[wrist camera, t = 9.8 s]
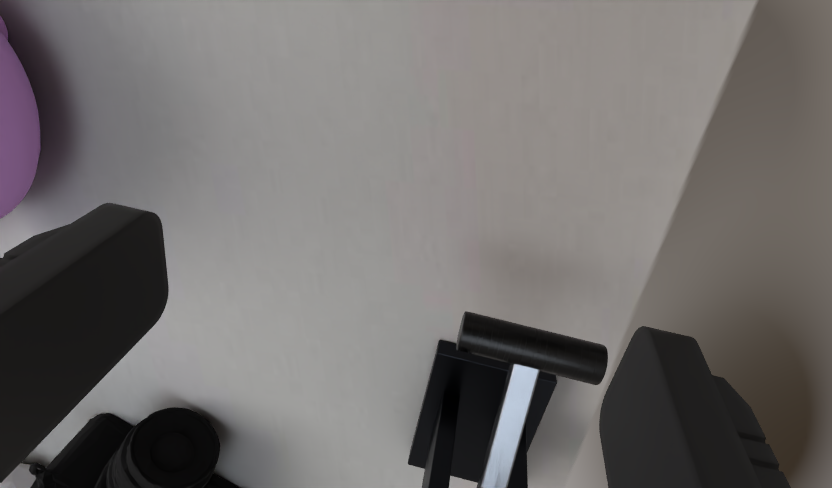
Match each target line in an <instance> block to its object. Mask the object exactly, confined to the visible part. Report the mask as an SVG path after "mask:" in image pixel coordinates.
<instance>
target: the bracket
mask: <svg viewBox="0 0 832 488" xmlns="http://www.w3.org/2000/svg"><path fill="white" fill-rule="evenodd" d="M509 366H510V363H506V362H502V361H498V360H494V359H490V358H486V357H482V356H478V355H474V354H470V353H466V352H462V351H458V350H456V344H454V343H450V342H446V341H442V340H439V343H438V346H437V350H436V354H435V358H434V362H433V366H432V369H431V373H430V377H429V381H428V385H427V389H426V392H425V396H424V400H423V404H422V408H421V412H420V415H419V419H418V423H417V427H416V431H415V435H414V438H413V442H412V446H411V450H410V455H409V459H408V464H409V465H413V466H416V467H420V468H424V469H425V472H424V478H423V483H422V488H449V481H450V475H451V476H454V477H458V478H462V479H466V480H470V481H473V482H477V483H478V481H479V478H480V474H481V470H482V466H483V463H484V459H485V455H486V452H487V448H488V444H489V440H490V437H491V433H492V429H493V426H494V422H495V418H496V414H497V411H498V407H499V403H500V400H501V396H502V392H503V388H504V385H505V381H506V377H507V374H508V370H509ZM556 384H557V378H556V375H554V374H550V373H546V372H542V371H540V372H539V375H538V379H537V382H536V386H535V390H534V393H533V397H532V400H531V404H530V407H529V411H528V415H527V418H526V422H525V425H524V429H523V432H522V436H521V440H520V443H519V447H518V450H517V454H516V458H515V461H514V465H513V468H512V472H511V475H510V479H509V483H508V486H507V488H528V484H527V451H528V449H529V447H530V444H531V442H532V440H533V437H534V435H535V433H536V430H537V428H538V426H539V423H540V421H541V419H542V416H543V414H544V412H545V409H546V407H547V405H548V402H549V400H550V398H551V395H552V393H553V391H554V388H555V386H556Z"/></svg>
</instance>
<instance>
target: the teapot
mask: <svg viewBox="0 0 832 488" xmlns="http://www.w3.org/2000/svg"><path fill="white" fill-rule="evenodd" d="M40 151H41V144H40V124H39V114H38V109H37V105H36V100H35V96H34V93H33V90H32V87H31V84H30V82H29V79H28V77H27V75H26V73H25V70H24V68H23V66H22V64H21V62H20V60H19V59H18V57H17V55H16V53H15V52H14V50H13V48H12V47H11V45H10V44H9V42H8V31H7V28H6V25H5V23H4V21H3V19H2V18H1V16H0V218H2V217H4V216H5V215H7V214H8V213H10V212H11V211H12V210H13V209H14V208H15V207H16V206H17V205H18V204H19V203H20V202H21V201H22V199H23V198H24V197H25V195H26V194H27V192H28V190H29V189H30V187H31V185H32V182H33V180H34V177H35V174H36V170H37V164H38V159H39V154H40Z"/></svg>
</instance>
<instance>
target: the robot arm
mask: <svg viewBox="0 0 832 488" xmlns="http://www.w3.org/2000/svg"><path fill="white" fill-rule="evenodd" d="M167 299H168V278H167V268H166V258H165V248H164V238H163V229H162V223H161V220H160V218H159V217H158V216H157V215H156V214H155V213H152V212H148V211H144V210H140V209H135V208H131V207H127V206H122V205H118V204H113V203H106V204H103V205H101V206H99V207H97V208H96V209H94V210H92V211H91V212H89V213H88V214H86V215H84V216H83V217H81V218H79V219H78V220H76V221H75V222H73V223H71V224H69V225H66V226H63V227H60V228H57V229H54V230H51V231H48V232H44V233H41V234H38V235H35V236H33V237H31V238H29V239H28V240H26V241H24V242H23V243H21V244H19V245H18V246H16V247H14V248H13V249H11V250H9V251H8V252H6V253H4V257H3V258H0V483H2V482H3V481H4V480H5V478H6V477H7V476H8V475H9V474H10V473H11V472H12V471H13V470H14V469H15V468H16V467H17V466H18V465H19V464H20V463H21V462H22V461H23V460H24V459H25V458H26V457H27V456H28V455H29V454H30V453H31V452H32V451H33V450H34V449H35V448H36V447H37V445H38V444H39V443H40V442H41V441H42V440H43V439H44V438H45V437H46V436H47V435H48V434H49V433H50V432H51V431H52V430H53V429H54V428H55V427H56V426H57V425H58V424H59V423H60V422H61V421H62V420H63V419H64V418H65V417H66V416H67V415H68V414H69V412H70V411H71V410H72V409H73V408H74V407H75V406H76V405H77V404H78V403H79V402H80V401H81V400H82V399H83V398H84V397H85V396H86V395H87V394H88V393H89V392H90V391H91V390H92V389H93V388H94V387H95V386H96V385H97V384H98V383H99V382H100V380H101V379H102V378H103V377H104V376H105V375H106V374H107V373H108V372H109V371H110V370H111V369H112V368H113V367H114V366H115V365H116V364H117V363H118V362H119V361H120V360H121V359H122V358H123V357H124V356H125V355H126V354H127V353H128V352H129V351H130V350H131V349H132V347H133V346H134V345H135V344H136V343H137V342H138V341H139V340H140V339H141V338H142V337H143V336H144V335H145V334H146V333H147V332H148V331H149V330H150V329H151V328H152V327H153V326H154V325H155V324H156V322H157V321H158V320H159V318H160V317H161V315H162V313H163V311H164V309H165V306H166V303H167ZM599 426H600V438H601V443H602V450H603V456H604V462H605V468H606V475H607V481H608V487H609V488H790V485H789V483H788V481H787V479H786V477H785V476H784V474H783V472H780V471H779V470H778V467H779V463H778V461H777V459H776V457H775V455H774V453H773V452H772V449H771V447H770V445H769V444H765V439H766V438H765V435H764V433H763V432H762V429H761V427H760V425H759V423H758V421H757V419H756V417H755V415H754V413H753V411H752V409H751V407H750V406H749V405H748V404H747V403H746V402H745V401H744V400H743V399H742V397H741V396H740V395H739V394H738V393H737V392H736V391H735V390H734V389H733V388H732V387H731V385H730V384H729V383H728V382H727V381H726V380H725V379H724V378H721V377H717V376H713V375H712V374H711V372H710V370H709V367H708V365H707V363H706V361H705V359H704V356H703V354H702V352H701V349H700V347H699V345H698V343H697V341H696V340H695V339H694V338H692V337H689V336H684V335H680V334H676V333H671V332H667V331H662V330H658V329H654V328H649V327H645V326H642V327H640V328H638V330H637V331H636V332H635V333H634V335H633V337H632V339H631V341H630V343H629V345H628V347H627V349H626V351H625V353H624V356H623V358H622V360H621V362H620V364H619V366H618V368H617V370H616V372H615V375H614V377H613V379H612V381H611V383H610V385H609V387H608V389H607V391H606V394H605V396H604V399H603V403H602V407H601V413H600V424H599Z"/></svg>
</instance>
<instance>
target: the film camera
mask: <svg viewBox="0 0 832 488" xmlns="http://www.w3.org/2000/svg"><path fill="white" fill-rule="evenodd" d="M219 451H220V443H219V439H218V436H217V434H216V432H215V430H214V428H213V427H212V426H211V424H210V422H209V421H208V420H206V419H205V418H204V417H202V416H201V415H199V414H198V413H196V412H194V411H192V410H189V409H185V408H175V407H174V408H167V409H163V410H160V411H157V412H154V413H152V414H150V415H149V416H148V417H147V418H145V419H144V420H142V421H141V422H140V423H138V424H137V425H136V426H135V427H133V426H131V425H129V424H127V423H126V422H124V421H122V420H120V419H119V418H117V417H115V416H113V415H111V414H107V413H106V414H101V415H97V416H95V417H94V418H93V419H90V420H89V422H88V423H87V424H86V425H85V426H84V427H83V428H82V429H81V431H80V432H79V433H78V434H77V435H76V436H75V437H74V438H73V439H72V440H71V441H70V442H69V443H68V444H67V445H66V446H65V448H64V449H63V450H62V451H61V453H59V454H58V455H57V456H56V457H55V458H54V460H53V461H52V462H51V463H50V464H49V465H48V466H47V467H46V468H44V467H43V466H42V465H40V464H39V463H35V464H32V465H30V468H29V471H30V473H31V474H32V475H35V477H36V480H35V481H34V483H33V485H32V486H31V487H30V488H239V487H237V486H235V485H233V484H231V483H230V482H228V481H226V480H224V479H222V478H220V477H218V476H217V475H215V474H213V472H214V470H215V466H216V464H217V460H218V457H219ZM38 468H39V469H41V470H39V469H38Z"/></svg>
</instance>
